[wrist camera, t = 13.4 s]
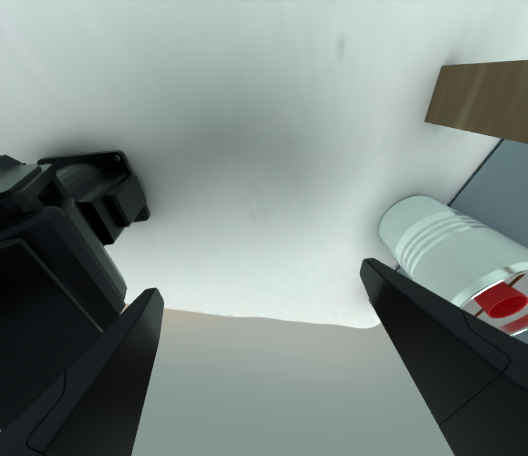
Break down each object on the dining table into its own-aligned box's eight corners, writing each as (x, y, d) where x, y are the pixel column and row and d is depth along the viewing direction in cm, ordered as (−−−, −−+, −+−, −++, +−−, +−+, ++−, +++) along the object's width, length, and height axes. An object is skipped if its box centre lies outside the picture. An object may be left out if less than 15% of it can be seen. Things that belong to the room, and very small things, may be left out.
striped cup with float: (397, 175, 22) (520, 249, 12) (466, 188, 24) (629, 264, 14) (357, 251, 28) (420, 346, 17) (416, 258, 29) (506, 350, 19)
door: (387, 281, 31) (478, 400, 20) (518, 122, 20) (895, 178, 9) (401, 283, 32) (496, 399, 20) (535, 129, 21) (908, 190, 9)
